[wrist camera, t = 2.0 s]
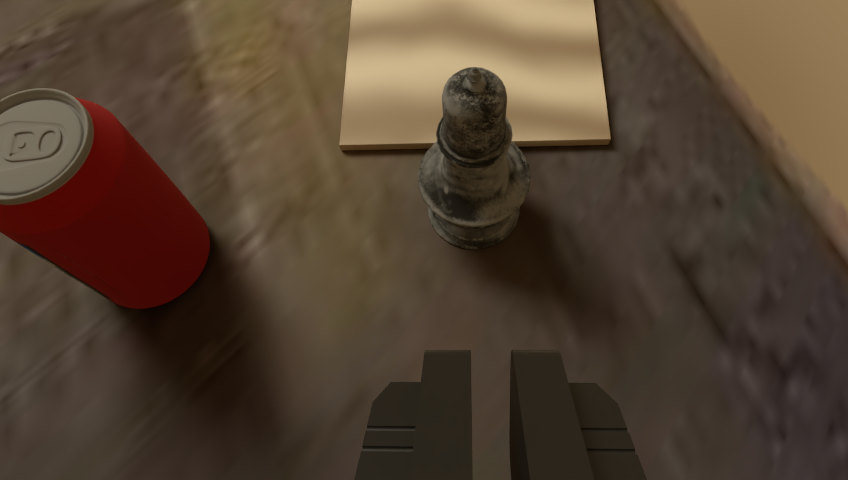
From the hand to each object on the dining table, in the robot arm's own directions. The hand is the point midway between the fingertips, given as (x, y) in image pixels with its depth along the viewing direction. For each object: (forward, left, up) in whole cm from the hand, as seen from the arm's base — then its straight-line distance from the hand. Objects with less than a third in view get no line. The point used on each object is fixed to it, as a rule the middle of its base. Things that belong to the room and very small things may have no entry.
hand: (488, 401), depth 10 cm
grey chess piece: (-5, +14, -22) cm, 27 cm away
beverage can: (-21, +5, -22) cm, 31 cm away
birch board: (-9, +25, -22) cm, 35 cm away
